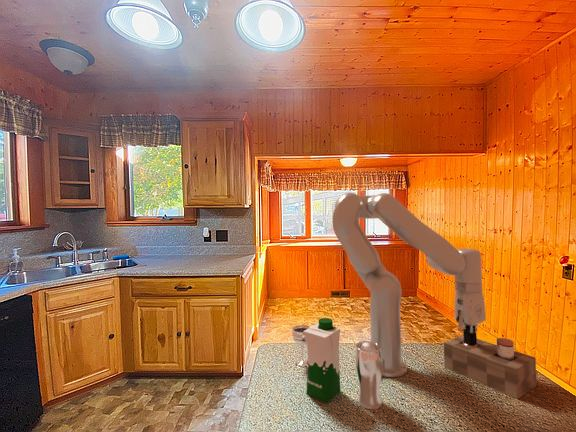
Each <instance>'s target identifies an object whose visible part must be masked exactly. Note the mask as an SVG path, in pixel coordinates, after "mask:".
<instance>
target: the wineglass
mask: <svg viewBox="0 0 576 432" xmlns="http://www.w3.org/2000/svg"><path fill="white" fill-rule="evenodd" d="M309 327H310V326H309V325H304V324H300V325H295V326H293V327H292V328H291V330H292V335H291V337H292V340H293V341H294V342H295V343H296V344H298V345H300V349H301V350H300V351H301V352H300V353H301V360H302V361H300V360H298V361H299V362H298V365H301V366H306V365H307V360H305V361H303V360H304V346H305V345H306V340H305V336H304V332H303V331H305V330H307V329H308V328H309Z"/></svg>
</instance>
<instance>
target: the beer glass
mask: <svg viewBox="0 0 576 432" xmlns="http://www.w3.org/2000/svg"><path fill="white" fill-rule="evenodd" d="M354 356H355V357H354V359H355V371H356V375H357V376H356V377H357V381H358V387H359V389H358V391H359V392H358V397H357V398H358V399H357V401H358V405H360V407H362V408H364V409H367V410H378V409H380V408H381V407H382V403H383V402H382V397H381V390H380V389H381V386H380V385H381V381H382V376H381V375H382V355H381V347H380V345H378V344H377V343H374V342H371V341H370V340H369V341H366V340H364V341H363V340H361V341H359V342H357V343H356V344H355V355H354Z"/></svg>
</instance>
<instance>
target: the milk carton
mask: <svg viewBox="0 0 576 432" xmlns="http://www.w3.org/2000/svg"><path fill="white" fill-rule="evenodd" d="M333 322H334V321H333V319H331V318H328V317H326V318H325V317H322V318H319V319H318V323H316V324H314V325H311V326H309V328H308V329H307V330H305V331H303V332H304V336H305V340H306V344H305V345H306V361H307V367H306V373H307V376H306V393H305V394H306V395H307V396H310V397H312V398H314V399H317V400H318V401H320V402H323V403H325V404H328V403H329V402H330V401H332V400H333V399H334V398H336V396H337V395H338V394H340V393H341V380H340V379H341V376H340V374H341V373H340V334H341V329H340V328H339V327H336V326H334V325H333Z"/></svg>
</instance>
